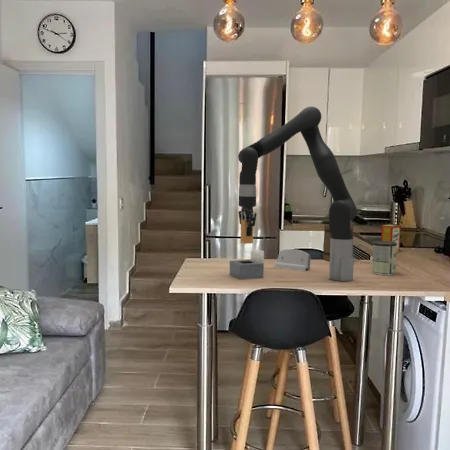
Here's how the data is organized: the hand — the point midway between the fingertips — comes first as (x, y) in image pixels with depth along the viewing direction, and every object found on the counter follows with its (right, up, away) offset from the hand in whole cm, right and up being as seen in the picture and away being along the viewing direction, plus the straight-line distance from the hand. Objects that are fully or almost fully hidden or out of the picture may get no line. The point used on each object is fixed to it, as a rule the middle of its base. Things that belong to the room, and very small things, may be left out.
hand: (246, 235), depth 203 cm
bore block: (0, -18, +2) cm, 18 cm away
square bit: (0, -3, 0) cm, 3 cm away
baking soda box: (+88, -12, +75) cm, 116 cm away
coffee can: (+62, -18, +10) cm, 65 cm away
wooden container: (+50, -14, +46) cm, 69 cm away
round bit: (+5, -16, +15) cm, 23 cm away
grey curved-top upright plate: (+23, -16, +22) cm, 36 cm away
